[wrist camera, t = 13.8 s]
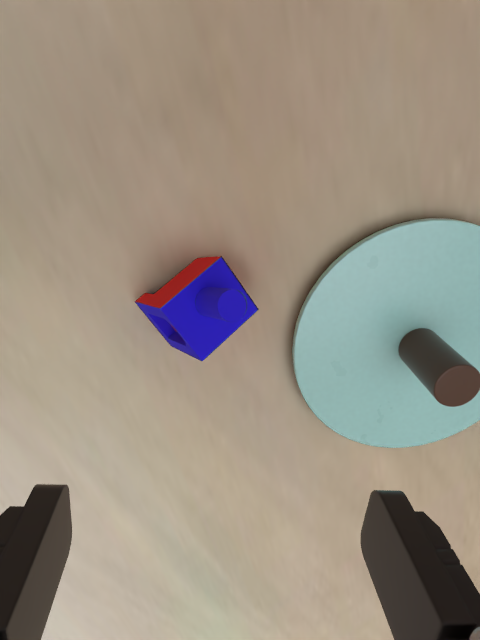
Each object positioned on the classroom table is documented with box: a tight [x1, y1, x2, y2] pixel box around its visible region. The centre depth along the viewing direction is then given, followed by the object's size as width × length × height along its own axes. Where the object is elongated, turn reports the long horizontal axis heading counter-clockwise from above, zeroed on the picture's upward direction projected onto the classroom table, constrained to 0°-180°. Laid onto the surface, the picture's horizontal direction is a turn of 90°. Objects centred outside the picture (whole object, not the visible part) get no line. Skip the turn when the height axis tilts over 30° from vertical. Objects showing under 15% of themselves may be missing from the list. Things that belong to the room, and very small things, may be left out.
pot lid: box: [292, 218, 480, 448], centre depth 26 cm, size 16×16×6 cm
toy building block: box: [135, 256, 258, 361], centre depth 24 cm, size 4×4×8 cm
